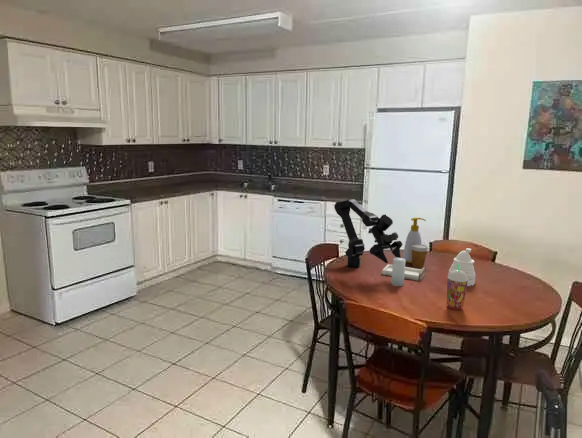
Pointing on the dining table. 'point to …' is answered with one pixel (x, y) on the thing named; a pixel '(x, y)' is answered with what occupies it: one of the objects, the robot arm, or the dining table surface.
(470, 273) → the honey pot
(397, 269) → the white rounded wedge
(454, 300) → the smoothie
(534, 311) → the dining table surface
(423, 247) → the disposable coffee cup
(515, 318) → the dining table surface
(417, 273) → the drawer
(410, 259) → the soap bottle
